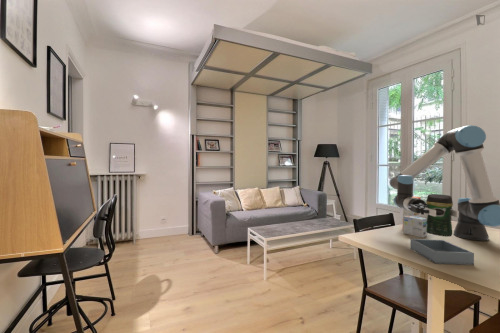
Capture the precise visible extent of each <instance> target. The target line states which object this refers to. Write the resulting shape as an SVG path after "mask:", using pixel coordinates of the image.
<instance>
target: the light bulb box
mask: <svg viewBox="0 0 500 333" xmlns="http://www.w3.org/2000/svg"><path fill="white" fill-rule="evenodd" d="M426 223H427V217H422V216H420V217H416V216H410V215H407V216H404V229H402V230H403V234H405V235H411V236H415V237H419V238H425V237H427V236H428V233H427V232H426Z"/></svg>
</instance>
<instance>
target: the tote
mask: <svg viewBox="0 0 500 333" xmlns="http://www.w3.org/2000/svg"><path fill="white" fill-rule="evenodd" d="M409 244H410V250H412V251H413V252H415V253H417V254H418V255H420V256H421V257H423V258H426V259H427V260H428V261H430V262H432V263H433V264H436V265H437V264H438V265H439V264H440V265H442V264H443V265H463V266H464V265H469V266H474V264H475V253H474V252H472V251H471V250H467V249H465V248H464V247H461V246H458V245H456V244H454V243H451V242H449V241H447V240H444V239H429V238H427V239H423V238H422V239H421V238H411V239H410V243H409Z"/></svg>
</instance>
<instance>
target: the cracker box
mask: <svg viewBox="0 0 500 333" xmlns="http://www.w3.org/2000/svg"><path fill="white" fill-rule="evenodd" d="M412 197H414V198H418V199H421V197H420V196H414V195H413V196H412ZM407 215H410V216H416V217H421V213H415V212H411V211H410V210H407V209H403V208H402V230H404V216H407Z"/></svg>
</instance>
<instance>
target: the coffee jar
mask: <svg viewBox="0 0 500 333" xmlns="http://www.w3.org/2000/svg"><path fill="white" fill-rule="evenodd" d="M425 203H427V206H428V208H429V209H433V210H436V217H434V216H431V215H428V214H427V217H426V218H427V223H426V232H427V234H429V235H433V236H438V237H446V238H448V237H452V235H453V224H452V216H451V208H452V207H453V206H454V205H453V204H454V203H453V197H452V195H447V194H440V193H439V194H438V193H429V194H428V195H427V197H426V201H425ZM452 209H453V208H452Z"/></svg>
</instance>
